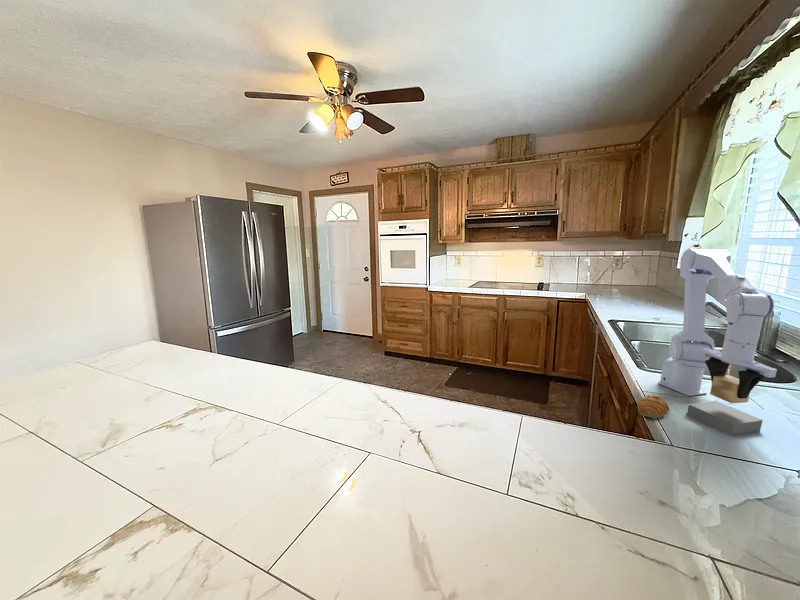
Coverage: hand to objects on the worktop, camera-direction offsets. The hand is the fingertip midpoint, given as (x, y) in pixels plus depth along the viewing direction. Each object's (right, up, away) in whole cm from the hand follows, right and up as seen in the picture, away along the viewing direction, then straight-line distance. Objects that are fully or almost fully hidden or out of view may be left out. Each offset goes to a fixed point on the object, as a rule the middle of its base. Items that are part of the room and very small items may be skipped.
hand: (728, 392), depth 84 cm
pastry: (-15, -7, +6) cm, 18 cm away
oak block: (0, -2, 0) cm, 2 cm away
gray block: (0, -8, +2) cm, 8 cm away
